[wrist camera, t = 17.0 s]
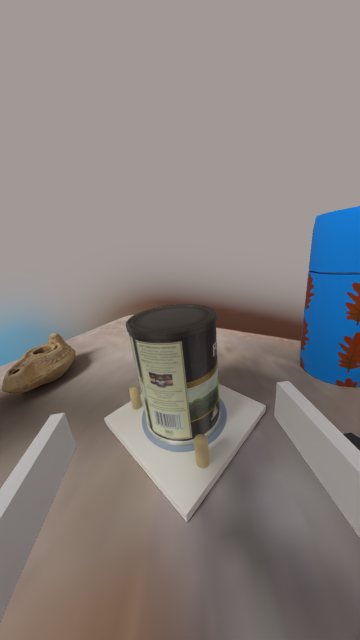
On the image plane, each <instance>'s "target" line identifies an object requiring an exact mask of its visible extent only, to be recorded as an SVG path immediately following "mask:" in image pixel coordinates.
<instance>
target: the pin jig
mask: <svg viewBox="0 0 360 640" xmlns="http://www.w3.org/2000/svg"><path fill="white" fill-rule="evenodd" d="M218 385H219V404H220V411H221V415H220V421H219V424H218V426H217V427H216V429H215V430H214V431H213V432H212V433H211V434H210V435H209V436H208V437H206V436H205V435H203V434H198V435H196V436H195V438H194V444H191V445H183V446H177V445H170V444H167V443H164V442H162V441H159V440H158V439H157V438H155V437H154V436H153V435H152V434H151V432H150V431H149V429H148V427H147V423H146V414H145V409H144V404H143V400H142V394H141V395H140V393H139V388H138V387H137V386H133V387H131V388H130V389H129V394H130V398H131V401H130V402H128V403H127V404H125V405H124V406H122V407H120V408H119V409H117V410H116V411H114V412H113V413H111V414H110V415H108V416H107V417H105V418H104V420H105V424H106V425H107V426H108V427H109V429H110V430H111V431H112V432H113V433H114V435H115V436H116V437H117V438H118V439H119V441H120V442H121V443H122V444H123V445H124V447H125V448H126V449H127V450H128V452H129V453H130V454H131V455H132V456H133V458H134V459H135V460H136V461H137V462H138V464H139V465H140V466H141V467H142V468H143V470H144V471H145V472H146V473H147V475H148V476H149V477H150V478H151V479H152V481H153V482H154V483H155V484H156V485H157V487H158V488H159V489H160V490H161V492H162V493H163V494H164V495H165V496H166V498H167V499H168V500H169V501H170V502H171V504H172V505H173V506H174V507H175V508H176V510H177V511H178V512H179V513H180V515H181V516H182V517H183V518H184V519H185V521H186V522H188V521H189V520H190V518H191V517H192V515H193V514H194V512H195V511H196V510H197V508H198V507H199V505H200V504H201V502H202V501H203V500H204V498H205V497H206V495H207V494H208V493H209V491H210V490H211V488H212V487H213V485H214V484H215V483H216V481H217V480H218V478H219V477H220V476H221V474H222V473H223V471H224V470H225V468H226V467H227V466H228V464H229V463H230V461H231V460H232V458H233V457H234V456H235V454H236V453H237V451H238V450H239V449H240V447H241V446H242V444H243V443H244V441H245V440H246V439H247V437H248V436H249V434H250V433H251V431H252V430H253V429H254V427H255V426H256V424H257V423H258V422H259V420H260V419H261V417H262V416H263V414H264V413H265V412H266V405H264V404H262V403H259V402H257V401H255V400H253V399H251V398H249V397H246V396H244V395H242V394H240V393H238V392H236V391H233V390H231V389H229V388H227V387H225V386H223V385H220V384H219V379H218Z"/></svg>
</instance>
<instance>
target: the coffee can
mask: <svg viewBox="0 0 360 640" xmlns="http://www.w3.org/2000/svg"><path fill="white" fill-rule="evenodd" d="M216 316H217V314H216V312H215V311H214V310H213V309H211V308H209V307H206V306H200V305H191V304H181V305H169V306H162V307H158V308H153V309H149V310H146V311H143V312H140V313H138V314H136V315H134V316H132V317H131V318H130V319H128V321H127V322H126V328H127V331H128V333H129V335H130V341H131V346H132V350H133V356H134V360H135V365H136V370H137V375H138V380H139V385H140V389H141V394H142V400H143V404H144V409H145V414H146V423H147V427H148V429H149V431H150V432H151V434H152V435H153V436H154V437H155V438H157V439H158V440H159V441H162V442H164V443H167V444H170V445H177V446H183V445H191V444H194V438H195V436H196V435H198V434H203V435H205V436H206V437H208V436H209V435H210V434H211V433H212V432H213V431H214V430H215V429H216V427H217V426H218V424H219V421H220V415H221V411H220V404H219V385H218V364H217V343H216V319H217V317H216Z"/></svg>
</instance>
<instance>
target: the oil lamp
mask: <svg viewBox="0 0 360 640" xmlns="http://www.w3.org/2000/svg"><path fill="white" fill-rule="evenodd" d="M74 358H75V350H74V349H72V348H71V346H68V344H66V343H65V341H64V340H63V339H62V337H61V336H60V335H59V334H57V333H53V334H51V335H50V336H49V342H48V343H47V344H44V345H42V346H39V347H36V348H33V349H31V350H29V351H27V352H26V353H25V354H24V355H23V357H22V358H21V359H20V360H19V361H18V362H17V363H16V364H15V365H14V366H13V367H12V368H11V369H10V370H9V371H8V372H7V373H6V375H5V377H4V380H3V386H2V391H4V392H9V393H23V392H27V391H30V390H32V389H34V388H36V387H38V386H40V385H43V384H47V383H50V382H53V381H55V380H56V379H58V378H60V377H61V376H62V375H63V374H64V373H65V372H66V371H67V370H68V368H69V367H70V366H71V364H72V363H73V361H74Z"/></svg>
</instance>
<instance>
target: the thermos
mask: <svg viewBox="0 0 360 640" xmlns="http://www.w3.org/2000/svg"><path fill="white" fill-rule="evenodd" d="M309 270H310V271H309V273H308V282H307V291H306V301H305V310H304V318H303V328H302V337H301V352H300V365H301V367H302V368H303V369H304V370H305V371H306V372H307V373H309V374H310V375H312V376H313V377H315V378H318V379H320V380H322V381H325V382H328V383H332V384H336V385H340V386H348V387H360V206H358V207H353V208H348V209H343V210H338V211H333V212H329V213H325V214H322V215H319V216H317V217H316V220H315V224H314V229H313V236H312V246H311V254H310V264H309Z"/></svg>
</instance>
